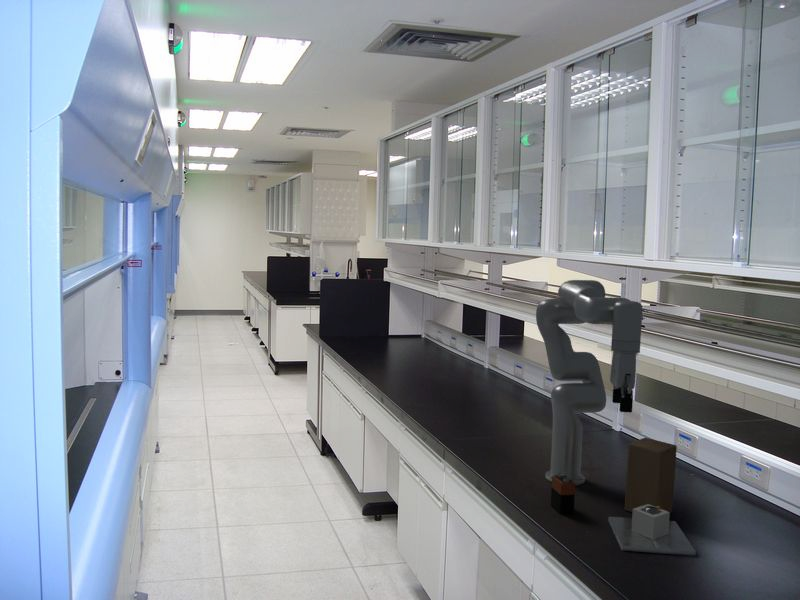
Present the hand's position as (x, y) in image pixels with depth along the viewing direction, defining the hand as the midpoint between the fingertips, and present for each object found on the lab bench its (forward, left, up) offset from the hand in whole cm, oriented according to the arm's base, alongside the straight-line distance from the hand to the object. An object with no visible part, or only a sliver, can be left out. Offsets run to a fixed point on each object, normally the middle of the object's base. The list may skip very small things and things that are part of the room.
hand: (621, 407), depth 190 cm
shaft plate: (+10, +7, -32) cm, 35 cm away
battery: (-5, -14, -33) cm, 36 cm away
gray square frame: (+10, +7, -31) cm, 33 cm away
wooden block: (-8, +11, -32) cm, 35 cm away
